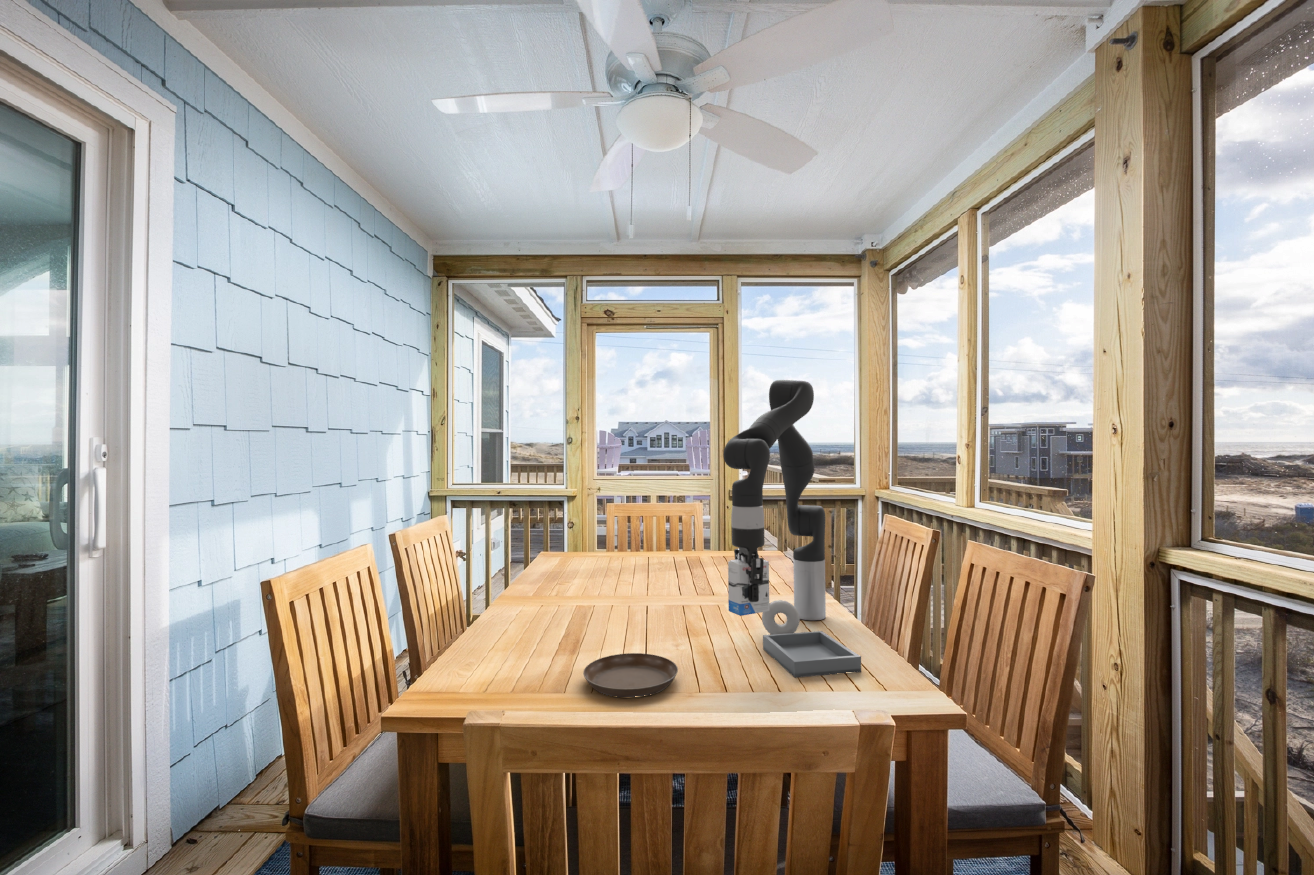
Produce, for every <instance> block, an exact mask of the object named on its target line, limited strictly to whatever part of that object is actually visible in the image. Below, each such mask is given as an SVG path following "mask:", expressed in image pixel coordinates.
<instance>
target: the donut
mask: <svg viewBox="0 0 1314 875" xmlns="http://www.w3.org/2000/svg"><path fill="white" fill-rule="evenodd" d="M761 613H762V614H761V622H762V625H763V627H764V629H765V630H766V631H767V633H768V634H769V635H772V634H786V633H796V632H797V629H799V628H798V627H799V626H800V620H801V619H800V618H799V613H798V611H797V609H796V608H795V607H794V604H792V603H791V602H789V601H786V600H783V599H778V600H773V601H771V602H769V611H767V612H761ZM777 614H783V615H785V616H786V621H785V622H784V623H783V624H779V623H777V622H776V620H775V617H776V615H777Z"/></svg>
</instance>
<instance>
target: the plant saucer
mask: <svg viewBox="0 0 1314 875" xmlns="http://www.w3.org/2000/svg"><path fill="white" fill-rule="evenodd" d="M678 671H679V668H678V666H677V664H676V663H675V662H674V661H672V660H670V659H669V658H666V657H663V656H660V655H656V654H650V653H639V652H633V653H631V652H628V653H619V654H612V655H608V656H604V657H601V658H598V659H595V660H594V661H592V662H590V663H589V664H588V665H586V666H585V668H584V669H583V676H584V679H585V680H586V682H587V683H588V684H589V686H590V687H591V688H592V689H593V690H595V691H597V692H598V693H600V694H602V693H603V694H602V695H604V694H606V695H605V696H608V695H610V696H609V697H612V696H617V697H616V698H619V697H635V696H644V695H649V696H651V695H650V694H653V695H655V693H656V694H658V693H660V692H662V691H664V690H665V689H667V687H668V686H670V685H671V684H672V682H673V681H674V680H675V678H676V676H677V675H678V673H679V672H678Z"/></svg>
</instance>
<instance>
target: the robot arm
mask: <svg viewBox="0 0 1314 875" xmlns="http://www.w3.org/2000/svg"><path fill="white" fill-rule="evenodd" d="M814 392H815V391H814V388H813V385H812V384H811V383H810V382H808V381H806V380H794V379H777V380H773V381H772V382H771V384H770V386H769V390H768V402H769V408H770V410H768V411H767V412H764V413H763V414H761V415H760V416H758V417H757V418H756V419H755V420H754V422H753V423H752V424H751V425H750V426H749V428H746V429H745V430H743V431H740V432H739V433H738V434H736V435H734V436H733V437H732V438H730V440H728V441H727V443H726V444H725V445H724V448H723V455H722V457H723V461H724V463H725V465H726V466H728V467H729V468H731V469H732V470H733V469H734V470H750V471H749V474H748V476H747V478H741V479H738V480H735V481H734V482H733V483H732V484H731V485H732V486H731V505H732V506H731V517H730V518H731V523H730V524H731V545H732V546H733V547H736V548H735V549H733V550H734V551H733V552H734V553H733V554H734V560H737V559H738V560H742V563H745V564H748V565H749V567H751V571H749V570H748V568H747V569H746V575H748V599H749V601H750V602H758V601H759V585H760V584H762V583H763V564H764V560H765V559H764V558H763V557H760V555H759V552H758V548H762V547H764V545H765V543H766V542H765V540H766V539H765V511H764V501H763V500H764V498H763V494H764V492H763V489H764V483H765V479H766V478H765V477H766V474H767V469H768V467H769V463H770V460H771V459H770V458H771V450H770V449H771V448H772V447H773V445H775V443H776V442H777V445H778V446H777V447H778V453H779V462H780V470H781V474H782V480H783V484H784V493H785V501H786V502H785V504H786V505H785V506H786V517H787V518H786V519H787V527H788V530H789V533H790V534H791V535H793V536H796V537H797V536H798V537H812V541H811V542H809V543H808V544H805V545H801V546H799V547H796V548H795V549H793V552H792V554H793V555H792V556H793V558H792V559H793V560H792V563H793V566H792V568H793V606H794V607H795V608H796V609H797V611H798V613H799V618H800V620H805V621H820V620H821V621H822V620H824V619H826V614H827V612H826V606H827V605H826V604H827V603H826V601H827V600H826V551H825V550H826V546H825V544H826V542H825V540H826V538H825V537H826V511H825V509H824V507H823V506H820V505H807V504H806V505H805V504H804V505H801V504H800V505H799V499H800V497H801V496H802V493H803V492H804V490H805V489H806V488H807V486H808V485H809V483H810V482H811V480H812V478H813V476H814V474H815V461H814V454H813V450H812V448H811V446H810V444H809V443H808V441H807V440H806V439H805V438H804V436H803V435H802V434H801V433H800V432H799V431H798V429H797V428H796V426H795V425H794V424H796V423H797V422H798V421H800V420H801V419H802V418H804V417H805V416H806V415H807V414H808V413H809V412H810V411H811V409H812V407H813V404H814V399H815V396H814V395H815V393H814ZM755 577H756V579H755Z"/></svg>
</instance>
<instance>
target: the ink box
mask: <svg viewBox="0 0 1314 875" xmlns="http://www.w3.org/2000/svg"><path fill="white" fill-rule="evenodd" d="M763 560H764V564H763V583H762V584H760V585H759V601H758V602H750V601H749V599H748V575H746V569H747V568H748V570H749V571H751V567H749V565H748V564H745V563H742V560H738V559H737V560H735V559H731V560H729V561H727V563H728V564H727V566H728V567H727V575H728V576H727V577H728V578H727V579H728V580H727V582H728V583H727V584H728V585H727V587H728V588H727V589H728V591H727V592H728V612H730V613H733V614H734V615H737V616H739V617H743V616H749V615H755V614H761V613H763V612H767V611H769V603H770V565H769V564H770V563H769V562H770V561H769V560H766V559H763ZM755 579H756V577H755Z"/></svg>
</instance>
